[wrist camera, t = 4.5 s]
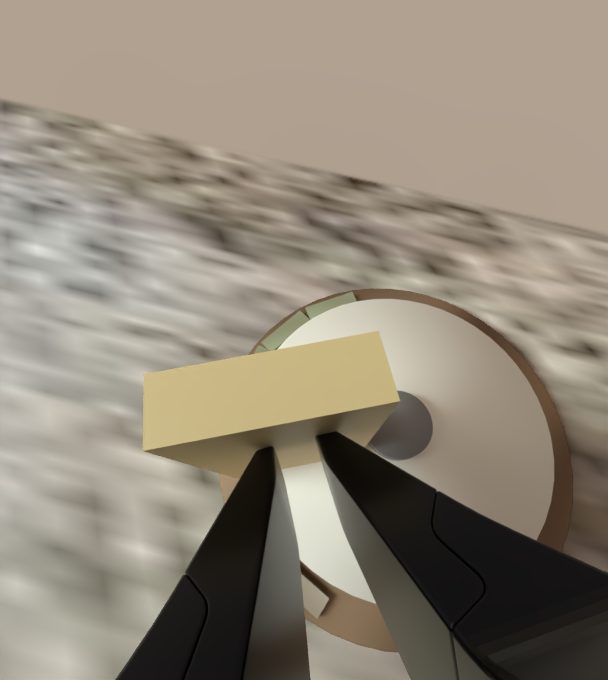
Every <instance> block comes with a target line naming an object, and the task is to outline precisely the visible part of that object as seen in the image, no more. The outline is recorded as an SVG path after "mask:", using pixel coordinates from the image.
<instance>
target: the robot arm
mask: <svg viewBox="0 0 608 680" xmlns="http://www.w3.org/2000/svg"><path fill="white" fill-rule="evenodd" d="M315 439H316V443H317V447H318V450H319V454H320V458H321V462H322V465H323V469H324V472H325V475H326V478H327V482H328V485H329V488H330V491H331V494H332V497H333V500H334V504H335V507H336V510H337V513H338V516H339V519H340V522H341V525H342V528H343V531H344V533H345V536H346V538H347V540H348V543H349V545H350V547H351V549H352V551H353V554H354V556H355V558H356V560H357V562H358V565H359V567H360V569H361V571H362V573H363V575H364V578H365V580H366V582H367V584H368V586H369V589H370V591H371V593H372V595H373V597H374V600H375V602H376V604H377V606H378V608H379V611H380V613H381V615H382V617H383V619H384V621H385V624H386V626H387V628H388V630H389V632H390V635H391V637H392V639H393V641H394V643H395V646H396V648H397V650H398V652H399V654H400V656H401V659H402V661H403V663H404V665H405V667H406V670H407V672H408V674H409V676H410V678H411V680H608V573H606V572H604V571H602V570H600V569H598V568H595V567H593V566H591V565H589V564H587V563H584V562H582V561H580V560H578V559H576V558H574V557H571V556H569V555H567V554H565V553H563V552H560V551H558V550H556V549H554V548H552V547H550V546H547V545H545V544H543V543H541V542H539V541H537V540H534V539H532V538H530V537H528V536H526V535H523V534H521V533H519V532H517V531H515V530H513V529H511V528H509V527H507V526H504V525H502V524H500V523H498V522H496V521H494V520H492V519H490V518H488V517H486V516H484V515H482V514H480V513H478V512H476V511H474V510H473V509H471V508H469V507H467V506H465V505H463V504H462V503H460V502H458V501H456V500H454V499H453V498H451V497H449V496H448V495H446V494H444V493H442V492H441V491H438V492H437V490H436V489H435V488H433V487H432V486H430V485H428V484H427V483H425V482H423V481H421V480H420V479H418V478H416V477H415V476H413V475H411V474H409V473H408V472H406V471H404V470H403V469H401V468H399V467H397V466H396V465H394V464H392V463H390V462H389V461H387V460H385V459H384V458H382V457H380V456H378V455H377V454H375V453H373V452H372V451H370V450H368V449H366V448H365V447H363V446H361V445H360V444H358V443H356V442H354V441H353V440H351V439H349V438H348V437H346V436H344V435H342V434H341V433H339V432H337V431H335V432H330V433H326V434H321V435H317V436H316V437H315ZM185 574H186V575H183V576H182V577H181V579H180V581H179V582H178V584H177V586H176V587H175V589H174V591H173V593H172V594H171V596H170V597H169V599H168V601H167V602H166V604H165V606H164V607H163V609H162V610H161V612H160V614H159V615H158V617H157V618H156V620H155V622H154V623H153V625H152V627H151V628H150V630H149V631H148V632H147V634H146V635H145V637H144V638H143V640H142V641H141V643H140V644H139V646H138V647H137V649H136V650H135V652H134V653H133V655H132V656H131V658H130V659H129V661H128V662H127V664H126V665H125V667H124V668H123V669H122V671H121V672H120V674H119V675H118V677H117V678H116V679H115V680H310V670H309V659H308V647H307V636H306V625H305V614H304V602H303V591H302V580H301V569H300V557H299V549H298V542H297V537H296V532H295V527H294V522H293V517H292V513H291V508H290V503H289V499H288V494H287V489H286V484H285V480H284V476H283V473H282V470H281V467H280V463H279V460H278V457H277V454H276V451H275V448H274V447H273V446H269V447H266V448H263V449H259V450H257V451H256V452H255V453H254V455H253V457H252V459H251V460H250V462H249V464H248V465H247V467H246V469H245V470H244V472H243V474H242V476H241V477H240V479H239V481H238V482H237V484H236V486H235V487H234V489H233V491H232V493H231V494H230V496H229V498H228V499H227V501H226V503H225V504H224V506H223V508H222V510H221V511H220V513H219V515H218V516H217V518H216V520H215V521H214V523H213V525H212V527H211V528H210V530H209V532H208V533H207V535H206V537H205V538H204V540H203V542H202V544H201V545H200V547H199V549H198V550H197V552H196V554H195V555H194V557H193V559H192V561H191V562H190V564H189V566H188V567H187V569H186V571H185Z"/></svg>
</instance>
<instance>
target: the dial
mask: <svg viewBox="0 0 608 680" xmlns="http://www.w3.org/2000/svg"><path fill="white" fill-rule="evenodd" d="M335 431H337V432H339V433H341V434H342V435H344V436H346V437H348V438H349V439H351V440H353V441H354V442H356V443H358V444H360V445H361V446H363V447H365V448H366V449H368V450H370V451H372V452H373V453H375V454H377V455H378V456H380V457H382V458H384V459H385V460H387V461H389V462H390V463H392V464H394V465H396V466H397V467H399V468H401V469H403V470H404V471H406V472H408V473H409V474H411V475H413V476H415V477H416V478H418V479H420V480H421V481H423V482H425V483H427V484H428V485H430V486H432V487H433V488H435V489H436V490H437V492H438V491H441V492H442V493H444V494H446V495H448V496H449V497H451V498H453V499H454V500H456V501H458V502H460V503H462V504H463V505H465V506H467V507H469V508H471V509H473V510H474V511H476V512H478V513H480V514H482V515H484V516H486V517H488V518H490V519H492V520H494V521H496V522H498V523H500V524H502V525H504V526H507V527H509V528H511V529H513V530H515V531H517V532H519V533H521V534H523V535H526V536H528V537H530V538H532V539H534V540H537V538H538V536H539V534H540V532H541V530H542V528H543V525H544V523H545V521H546V517H547V514H548V510H549V507H550V504H551V499H552V492H553V484H554V455H553V448H552V441H551V435H550V432H549V428H548V424H547V421H546V417H545V415H544V412H543V410H542V407H541V405H540V403H539V400H538V398H537V396H536V394H535V392H534V391H533V389H532V387H531V385H530V383H529V382H528V380H527V379H526V377H525V376H524V374H523V373H522V371H521V370H520V369H519V367H518V366H517V364H516V363H515V362H514V361H513V360H512V359H511V358H510V357H509V355H508V354H507V353H506V352H505V351H504V350H503V349H502V348H501V347H500V346H499V345H498V344H497V343H495V342H494V341H493V340H492V339H491V338H490V337H489V336H487V335H486V334H485V333H483V332H482V331H480V330H479V329H478V328H476V327H475V326H473V325H472V324H470V323H468V322H466V321H465V320H463V319H461V318H460V317H458V316H455V315H453V314H451V313H449V312H446V311H444V310H442V309H439V308H436V307H433V306H430V305H427V304H423V303H418V302H413V301H408V300H398V299H371V300H363V301H357V302H353V303H349V304H344V305H341V306H338V307H336V308H333V309H330V310H328V311H326V312H324V313H322V314H320V315H318V316H316V317H314V318H312V319H311V320H309V321H308V322H306V323H305V324H303V325H302V326H301V327H299V328H298V329H297V330H296V331H295V332H293V333H292V334H291V335H290V336H289V337H288V338H287V339H286V340H285V341H284V342H283V343H282V344H281V346H280V347H279V348H278V349H277V350H272V351H267V352H262V353H256V354H251V355H245V356H240V357H235V358H229V359H224V360H219V361H213V362H208V363H202V364H197V365H192V366H186V367H181V368H176V369H170V370H165V371H159V372H154V373H149V374H144V402H143V451H145V452H148V453H152V454H155V455H158V456H162V457H165V458H169V459H172V460H176V461H179V462H182V463H186V464H189V465H193V466H196V467H199V468H203V469H206V470H210V471H213V472H217V473H220V474H223V475H227V476H230V477H234V478H240V477H241V476H242V474H243V472H244V470H245V469H246V467H247V465H248V464H249V462H250V460H251V459H252V457H253V455H254V453H255V452H256V451H257V450H259V449H263V448H266V447H269V446H273V447H274V448H275V451H276V454H277V457H278V460H279V463H280V467H281V470H282V473H283V476H284V480H285V484H286V489H287V494H288V499H289V503H290V508H291V513H292V517H293V522H294V527H295V532H296V537H297V542H298V549H299V557H300V560H301V561H302V562H303V563H304V564H305V565H306V566H307V567H308V568H309V569H310V570H311V571H313V572H314V573H316V574H317V575H318V576H320V577H321V578H323V579H324V580H325V581H327V582H328V583H330V584H331V585H333V586H335V587H337V588H339V589H341V590H342V591H344V592H346V593H348V594H350V595H352V596H355V597H357V598H360V599H363V600H366V601H369V602H372V603H375V604H376V602H375V600H374V597H373V595H372V593H371V591H370V589H369V586H368V584H367V582H366V580H365V578H364V575H363V573H362V571H361V569H360V567H359V565H358V562H357V560H356V558H355V556H354V554H353V551H352V549H351V547H350V545H349V543H348V540H347V538H346V536H345V533H344V531H343V528H342V525H341V522H340V519H339V516H338V513H337V510H336V507H335V504H334V500H333V497H332V494H331V491H330V488H329V485H328V482H327V478H326V475H325V472H324V469H323V465H322V462H321V458H320V454H319V450H318V447H317V443H316V439H315V437H316V436H317V435H321V434H326V433H330V432H335Z"/></svg>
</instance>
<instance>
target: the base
mask: <svg viewBox="0 0 608 680" xmlns="http://www.w3.org/2000/svg"><path fill="white" fill-rule="evenodd" d="M371 299H398V300H408V301H413V302H418V303H423V304H427V305H430V306H433V307H436V308H439V309H442V310H444V311H446V312H449V313H451V314H453V315H455V316H458V317H460V318H461V319H463V320H465V321H466V322H468V323H470V324H472V325H473V326H475V327H476V328H478V329H479V330H480V331H482V332H483V333H485V334H486V335H487V336H489V337H490V338H491V339H492V340H493V341H494V342H495V343H497V344H498V345H499V346H500V347H501V348H502V349H503V350H504V351H505V352H506V353H507V354H508V355H509V357H510V358H511V359H512V360H513V361H514V362H515V363H516V364H517V366H518V367H519V369H520V370H521V371H522V373H523V374H524V376H525V377H526V379H527V380H528V382H529V383H530V385H531V387H532V389H533V391H534V392H535V394H536V396H537V398H538V400H539V403H540V405H541V407H542V410H543V412H544V415H545V417H546V421H547V424H548V428H549V432H550V435H551V441H552V448H553V455H554V484H553V492H552V499H551V504H550V507H549V510H548V514H547V517H546V521H545V523H544V525H543V528H542V530H541V532H540V534H539V536H538V538H537V541H539V542H541V543H543V544H545V545H547V546H550V547H552V548H554V549H556V550H558V551H560V552H562V549H563V546H564V543H565V540H566V536H567V533H568V530H569V525H570V518H571V511H572V505H573V474H572V466H571V458H570V451H569V448H568V444H567V440H566V436H565V432H564V428H563V426H562V423H561V421H560V418H559V416H558V413H557V411H556V408H555V406H554V404H553V402H552V400H551V398H550V396H549V394H548V393H547V391H546V389H545V387H544V385H543V384H542V382H541V381H540V379H539V378H538V377H537V375H536V374H535V372H534V371H533V369H532V368H531V366H530V365H529V364H528V363H527V362H526V361H525V359H524V358H523V357H522V356H521V355H520V354H519V352H518V351H517V350H516V349H515V348H514V347H513V346H512V345H511V344H510V343H508V342H507V341H506V340H505V339H504V338H503V337H502V336H501V335H500V334H499V333H497V332H496V331H495V330H493V329H492V328H491V327H489V326H488V325H487V324H485V323H484V322H483V321H481V320H479V319H478V318H476V317H474V316H473V315H471V314H469V313H468V312H466V311H464V310H462V309H460V308H458V307H456V306H454V305H451V304H449V303H447V302H445V301H442V300H439V299H436V298H433V297H430V296H427V295H423V294H418V293H414V292H410V291H402V290H394V289H363V290H353V291H348V292H343V293H338V294H334V295H331V296H328V297H325V298H322V299H319V300H316V301H314V302H312V303H310V304H308V305H306V306H304V307H302V308H300V309H298V310H296V311H295V312H293V313H292V314H290V315H289V316H287V317H285V318H284V319H283V320H281V321H280V322H279V323H278V324H277V325H275V326H274V327H273V328H272V329H270V330H269V331H268V332H267V333H266V334H265V335H264V337H263V338H262V339H261V340H260V341H259V342H258V343H257V344H256V345H255V346H254V348H253V349H252V350H251V352H250V353H249V354H248V355H251V354H256V353H262V352H267V351H272V350H277V349H278V348H279V347H280V346H281V344H282V343H283V342H284V341H285V340H286V339H287V338H288V337H289V336H290V335H291V334H292V333H293V332H295V331H296V330H297V329H298V328H299V327H301V326H302V325H303V324H305V323H306V322H308V321H309V320H311V319H312V318H314V317H316V316H318V315H320V314H322V313H324V312H326V311H328V310H330V309H333V308H336V307H338V306H341V305H344V304H349V303H353V302H357V301H363V300H371ZM219 478H220V486H221V490H222V495H223V499H224V503H226V501H227V499H228V498H229V496H230V494H231V493H232V491H233V489H234V487H235V486H236V484H237V482H238V481H239V479H240V478H234V477H230V476H227V475H223V474H220V473H219ZM300 569H301V580H302V591H303V602H304V614H305V619H307V620H308V621H310V622H312V623H313V624H315V625H317V626H318V627H320V628H322V629H323V630H325V631H327V632H329V633H330V634H333V635H335V636H337V637H340V638H342V639H345V640H347V641H350V642H352V643H354V644H357V645H361V646H365V647H369V648H373V649H377V650H382V651H387V652H398V650H397V648H396V646H395V643H394V641H393V639H392V637H391V635H390V632H389V630H388V628H387V626H386V624H385V621H384V619H383V617H382V615H381V613H380V611H379V608H378V606H377V604H375V603H372V602H369V601H366V600H363V599H360V598H357V597H355V596H352V595H350V594H348V593H346V592H344V591H342V590H341V589H339V588H337V587H335V586H333V585H331V584H330V583H328V582H327V581H325V580H324V579H323V578H321V577H320V576H318V575H317V574H316V573H314V572H313V571H311V570H310V569H309V568H308V567H307V566H306V565H305V564H304V563H303V562H302V561H301V560H300Z"/></svg>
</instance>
